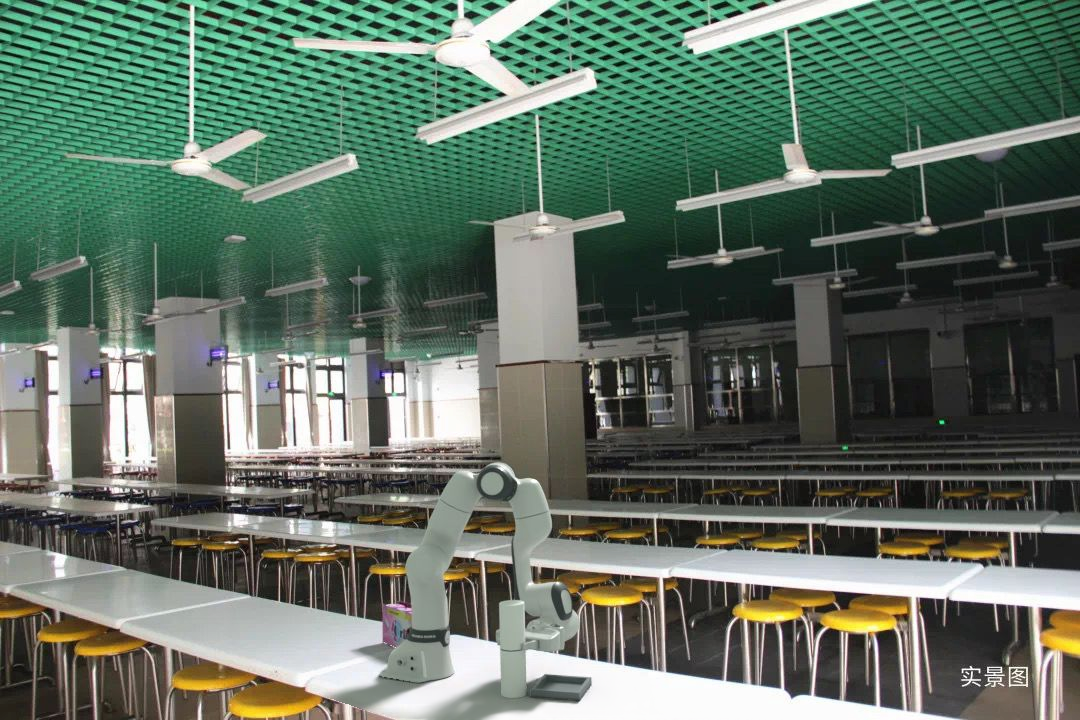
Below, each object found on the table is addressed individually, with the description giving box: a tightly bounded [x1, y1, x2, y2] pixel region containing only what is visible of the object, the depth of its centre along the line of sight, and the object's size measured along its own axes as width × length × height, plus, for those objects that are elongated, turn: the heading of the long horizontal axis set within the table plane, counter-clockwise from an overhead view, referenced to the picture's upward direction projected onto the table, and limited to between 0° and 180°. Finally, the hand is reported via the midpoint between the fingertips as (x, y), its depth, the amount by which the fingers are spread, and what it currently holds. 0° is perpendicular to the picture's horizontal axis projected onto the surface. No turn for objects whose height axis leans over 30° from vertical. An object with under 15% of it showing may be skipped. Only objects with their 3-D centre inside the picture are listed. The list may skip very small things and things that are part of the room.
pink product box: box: [382, 600, 412, 647], centre depth 280 cm, size 24×8×14 cm, turn 39°
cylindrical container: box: [498, 599, 528, 699], centre depth 229 cm, size 7×7×25 cm
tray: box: [529, 673, 593, 702], centre depth 229 cm, size 14×14×2 cm
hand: (510, 645), depth 229 cm, fingers closed on cylindrical container, 7 cm apart
